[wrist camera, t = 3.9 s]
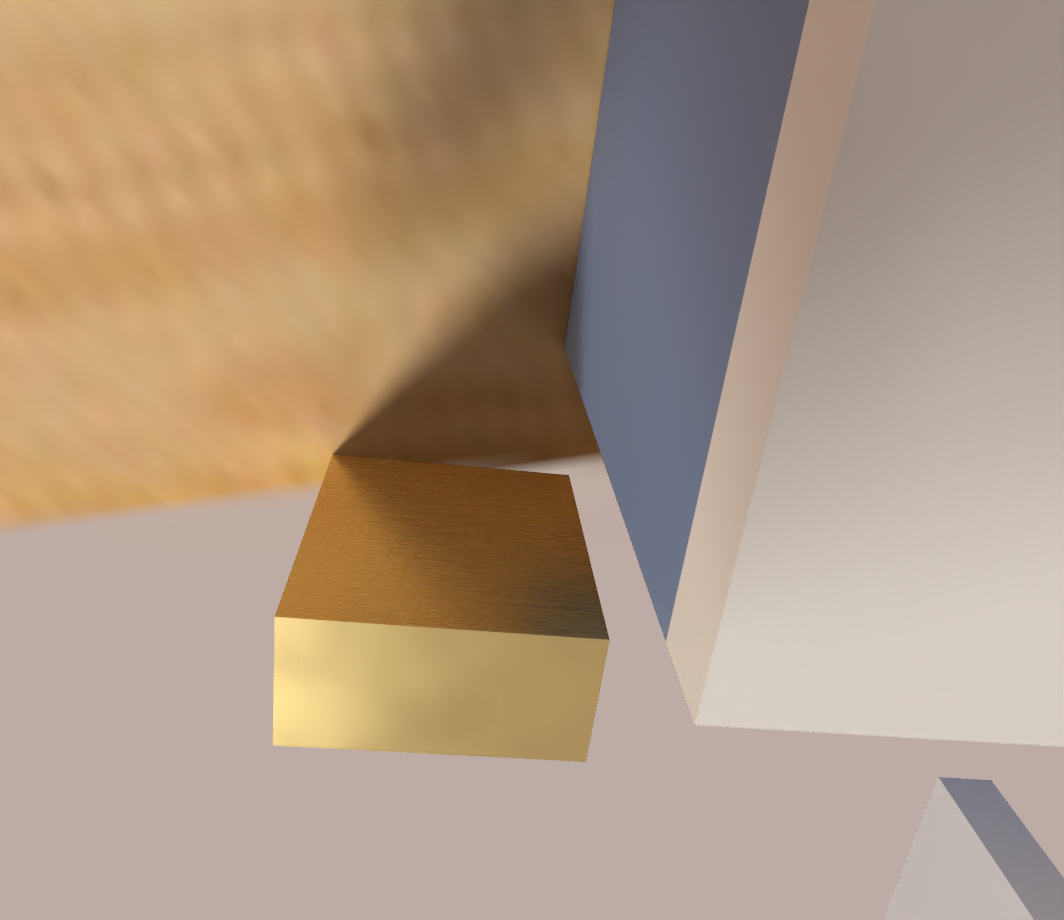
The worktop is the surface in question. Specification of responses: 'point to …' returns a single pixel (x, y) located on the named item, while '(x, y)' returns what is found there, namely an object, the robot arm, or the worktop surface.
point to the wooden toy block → (440, 615)
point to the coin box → (837, 356)
